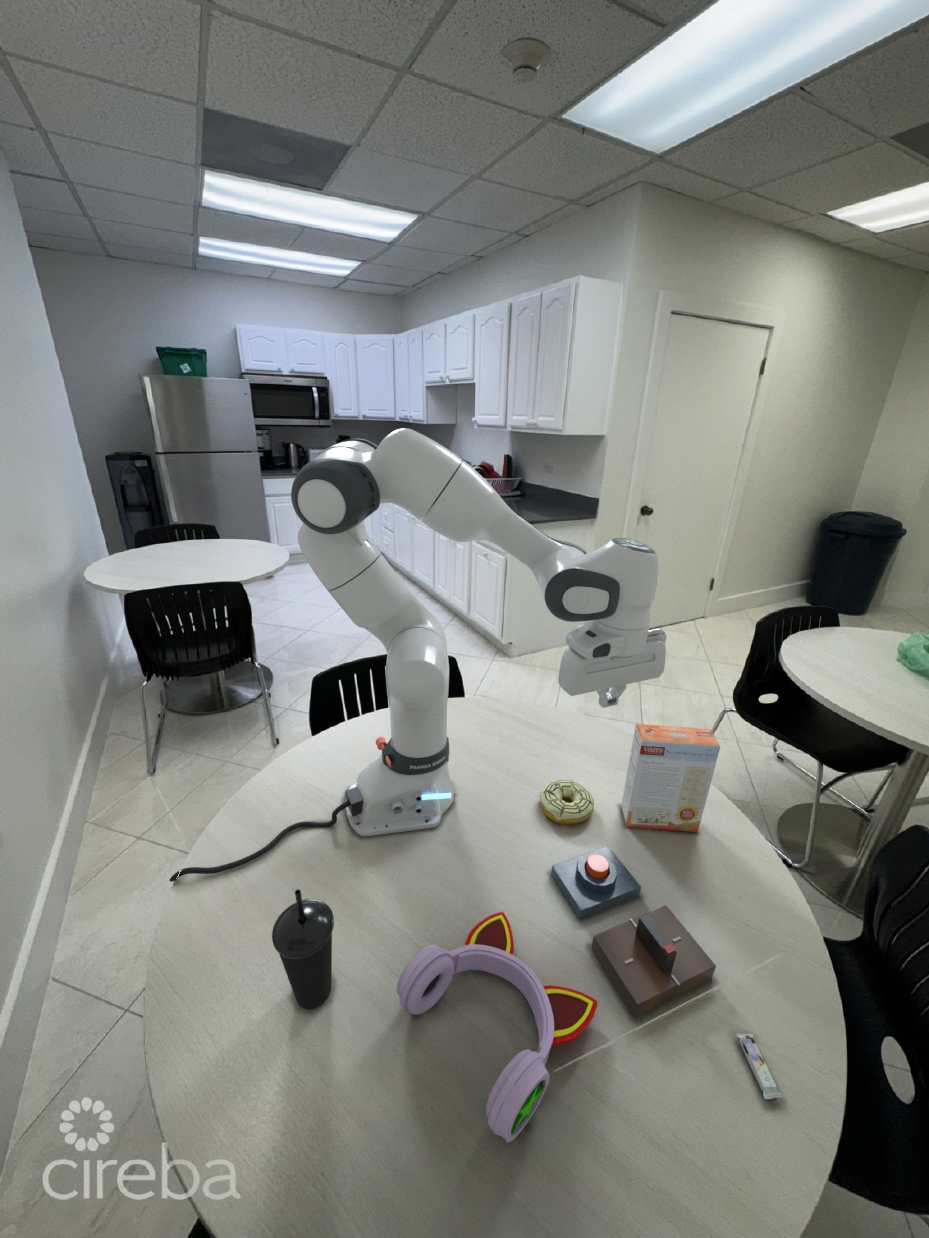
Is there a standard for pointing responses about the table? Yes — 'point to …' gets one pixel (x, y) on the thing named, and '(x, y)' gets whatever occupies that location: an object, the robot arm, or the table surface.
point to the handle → (656, 943)
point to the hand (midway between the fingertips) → (607, 704)
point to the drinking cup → (306, 949)
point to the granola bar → (759, 1066)
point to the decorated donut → (561, 810)
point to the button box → (594, 884)
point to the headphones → (552, 1006)
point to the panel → (651, 962)
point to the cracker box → (669, 777)
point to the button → (597, 866)
